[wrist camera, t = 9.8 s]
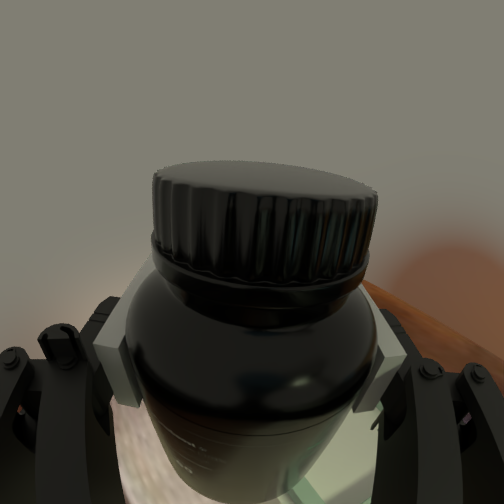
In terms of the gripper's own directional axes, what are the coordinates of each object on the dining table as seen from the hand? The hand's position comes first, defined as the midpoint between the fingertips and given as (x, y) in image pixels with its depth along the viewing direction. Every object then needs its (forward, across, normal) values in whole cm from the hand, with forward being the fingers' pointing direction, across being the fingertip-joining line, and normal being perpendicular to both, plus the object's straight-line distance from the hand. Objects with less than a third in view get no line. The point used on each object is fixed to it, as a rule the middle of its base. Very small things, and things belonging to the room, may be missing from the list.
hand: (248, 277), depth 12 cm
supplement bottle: (-5, 0, -7) cm, 8 cm away
